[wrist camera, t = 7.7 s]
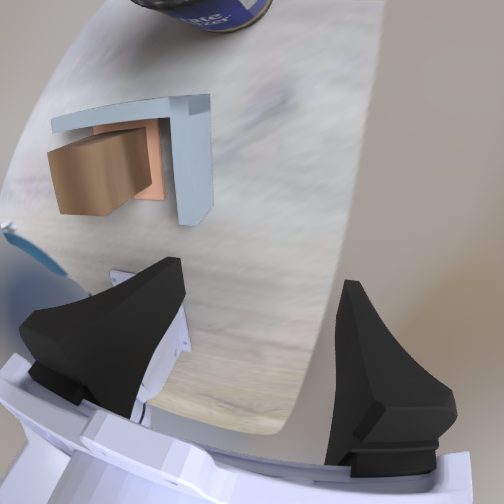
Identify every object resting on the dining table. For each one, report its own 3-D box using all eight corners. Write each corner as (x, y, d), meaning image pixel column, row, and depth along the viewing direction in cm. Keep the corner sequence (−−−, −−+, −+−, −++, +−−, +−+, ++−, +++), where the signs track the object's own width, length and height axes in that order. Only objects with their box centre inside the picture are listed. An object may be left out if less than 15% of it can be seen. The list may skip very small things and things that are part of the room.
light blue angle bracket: (213, 205, 22) (195, 226, 19) (92, 198, 24) (67, 215, 21) (210, 93, 18) (188, 95, 15) (80, 111, 20) (50, 119, 17)
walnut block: (145, 127, 19) (92, 145, 14) (152, 183, 22) (105, 216, 17) (100, 132, 20) (47, 152, 15) (108, 184, 22) (60, 214, 17)
